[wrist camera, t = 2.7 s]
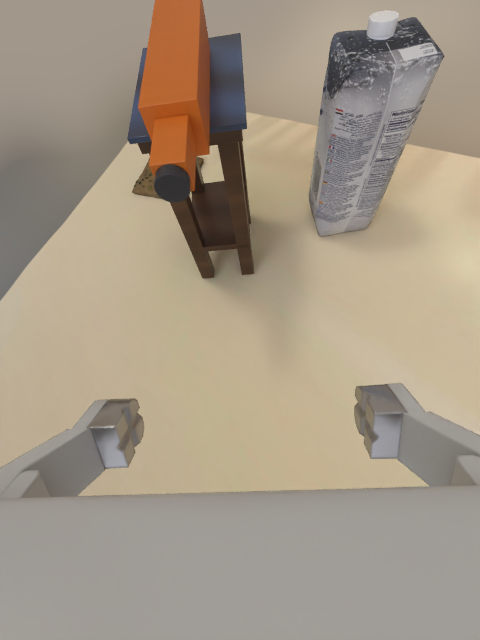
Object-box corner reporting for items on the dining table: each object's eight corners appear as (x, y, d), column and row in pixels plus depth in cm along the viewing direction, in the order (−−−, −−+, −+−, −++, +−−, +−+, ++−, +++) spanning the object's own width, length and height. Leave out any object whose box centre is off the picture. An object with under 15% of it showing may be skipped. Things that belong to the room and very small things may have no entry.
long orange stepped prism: (209, 208, 23) (195, 157, 19) (153, 214, 23) (128, 166, 19) (210, 49, 31) (200, -9, 27) (170, 56, 32) (154, -1, 28)
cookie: (131, 193, 62) (129, 189, 61) (154, 153, 66) (153, 149, 65) (183, 202, 59) (182, 198, 58) (204, 159, 63) (203, 155, 62)
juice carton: (374, 232, 52) (466, 36, 27) (314, 242, 52) (350, 59, 27) (359, 195, 55) (428, -9, 31) (303, 205, 56) (327, 13, 31)
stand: (260, 278, 50) (246, 122, 26) (196, 283, 51) (127, 138, 27) (255, 210, 56) (240, 32, 32) (198, 216, 57) (142, 48, 33)
